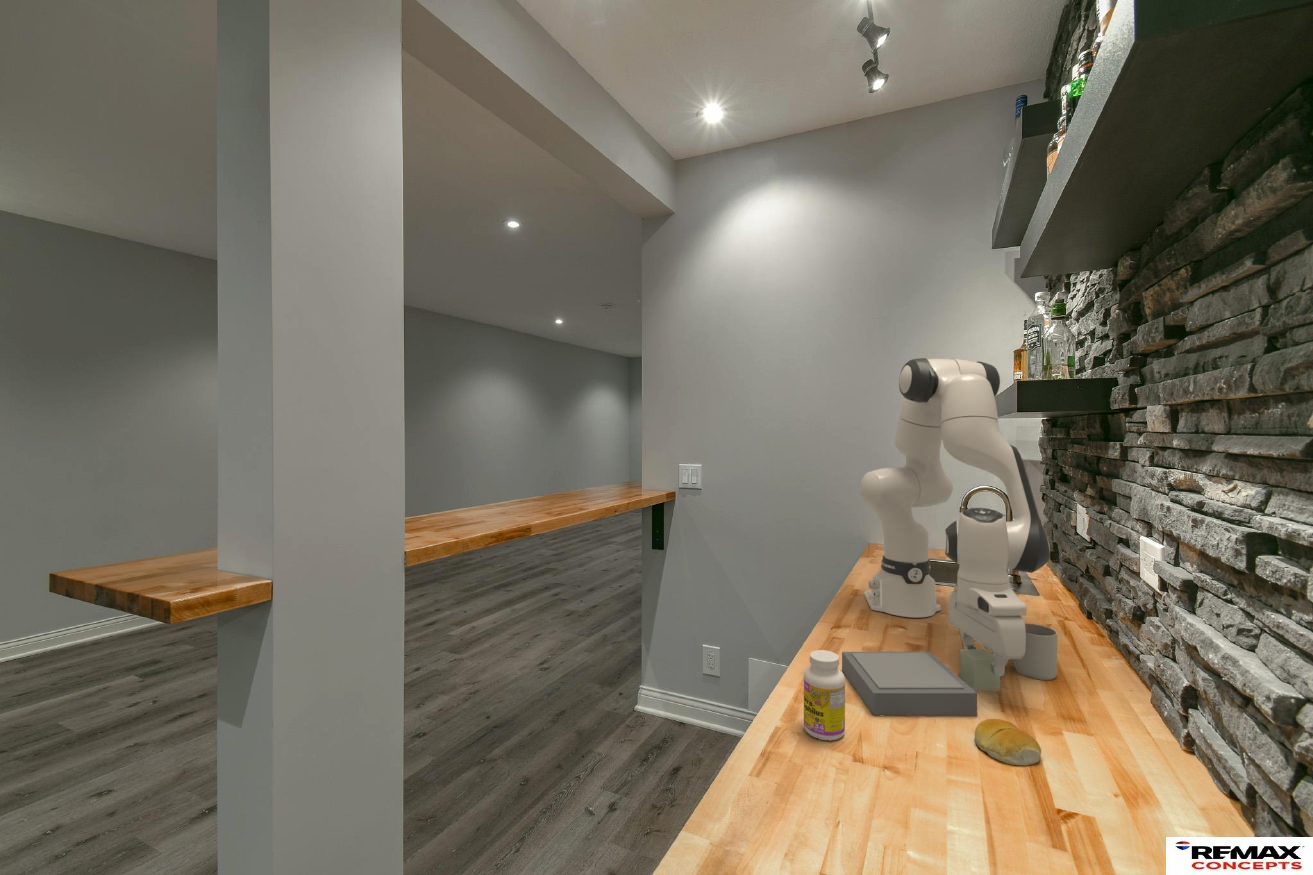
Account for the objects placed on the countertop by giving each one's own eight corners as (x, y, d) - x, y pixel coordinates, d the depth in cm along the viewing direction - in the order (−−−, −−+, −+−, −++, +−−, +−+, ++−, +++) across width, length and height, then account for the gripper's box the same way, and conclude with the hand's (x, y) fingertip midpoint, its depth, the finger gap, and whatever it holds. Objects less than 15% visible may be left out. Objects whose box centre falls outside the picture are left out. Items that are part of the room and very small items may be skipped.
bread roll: (1007, 732, 94) (1007, 708, 94) (1051, 765, 85) (1051, 738, 85) (961, 736, 93) (961, 712, 93) (1001, 769, 84) (1001, 743, 84)
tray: (842, 670, 117) (842, 650, 117) (929, 670, 117) (929, 650, 117) (873, 715, 99) (873, 691, 99) (977, 715, 99) (977, 691, 99)
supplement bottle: (795, 725, 96) (795, 651, 96) (826, 717, 99) (826, 644, 99) (821, 746, 90) (821, 666, 90) (854, 736, 93) (854, 659, 92)
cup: (1054, 684, 111) (1054, 639, 110) (995, 669, 117) (996, 627, 117) (1059, 671, 116) (1059, 628, 116) (1003, 658, 123) (1003, 617, 122)
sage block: (960, 678, 113) (960, 649, 113) (985, 678, 113) (985, 649, 113) (973, 690, 108) (973, 659, 108) (1000, 690, 108) (1000, 659, 108)
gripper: (940, 579, 121) (940, 643, 121) (997, 609, 100) (997, 687, 100) (970, 578, 120) (970, 643, 121) (1033, 609, 100) (1033, 687, 100)
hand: (983, 663), depth 110 cm, fingers open, 8 cm apart
